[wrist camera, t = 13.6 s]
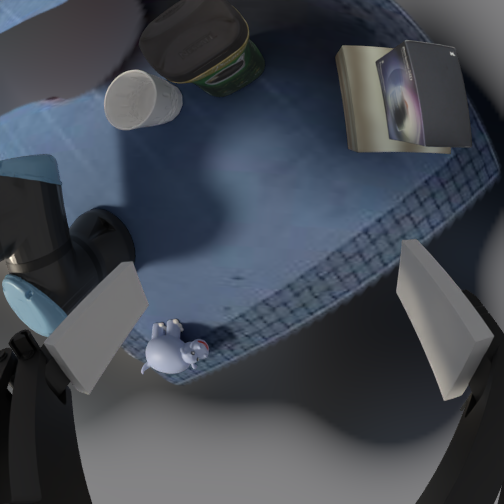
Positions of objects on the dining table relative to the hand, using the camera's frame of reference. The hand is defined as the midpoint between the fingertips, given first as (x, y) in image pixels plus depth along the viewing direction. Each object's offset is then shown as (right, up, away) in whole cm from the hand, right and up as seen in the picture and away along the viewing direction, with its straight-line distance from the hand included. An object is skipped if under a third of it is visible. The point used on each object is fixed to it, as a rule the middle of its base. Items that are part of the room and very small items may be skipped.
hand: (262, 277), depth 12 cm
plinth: (+19, +23, +18) cm, 35 cm away
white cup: (-14, +24, +23) cm, 36 cm away
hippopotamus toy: (-15, -17, +43) cm, 49 cm away
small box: (+18, +20, +13) cm, 30 cm away
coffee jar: (-4, +27, +20) cm, 34 cm away
